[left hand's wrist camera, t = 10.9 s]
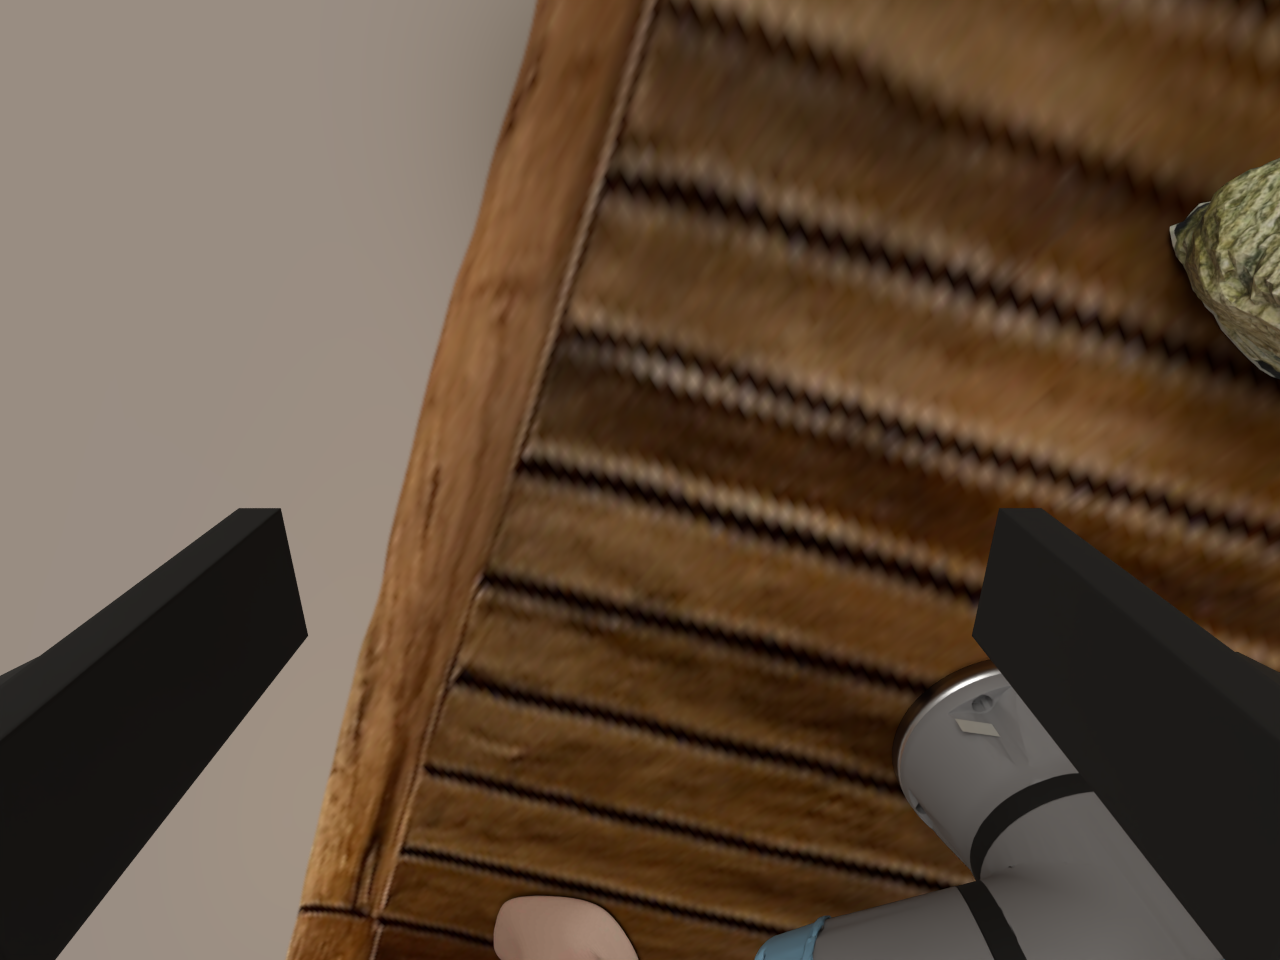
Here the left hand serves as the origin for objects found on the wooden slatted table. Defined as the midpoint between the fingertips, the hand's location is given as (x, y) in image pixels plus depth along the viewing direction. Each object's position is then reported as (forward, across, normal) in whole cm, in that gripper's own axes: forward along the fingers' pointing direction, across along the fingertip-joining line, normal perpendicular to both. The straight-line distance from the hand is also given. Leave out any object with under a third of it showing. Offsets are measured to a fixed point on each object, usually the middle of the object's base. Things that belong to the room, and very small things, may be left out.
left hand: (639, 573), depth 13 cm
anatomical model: (+28, +6, +51) cm, 59 cm away
